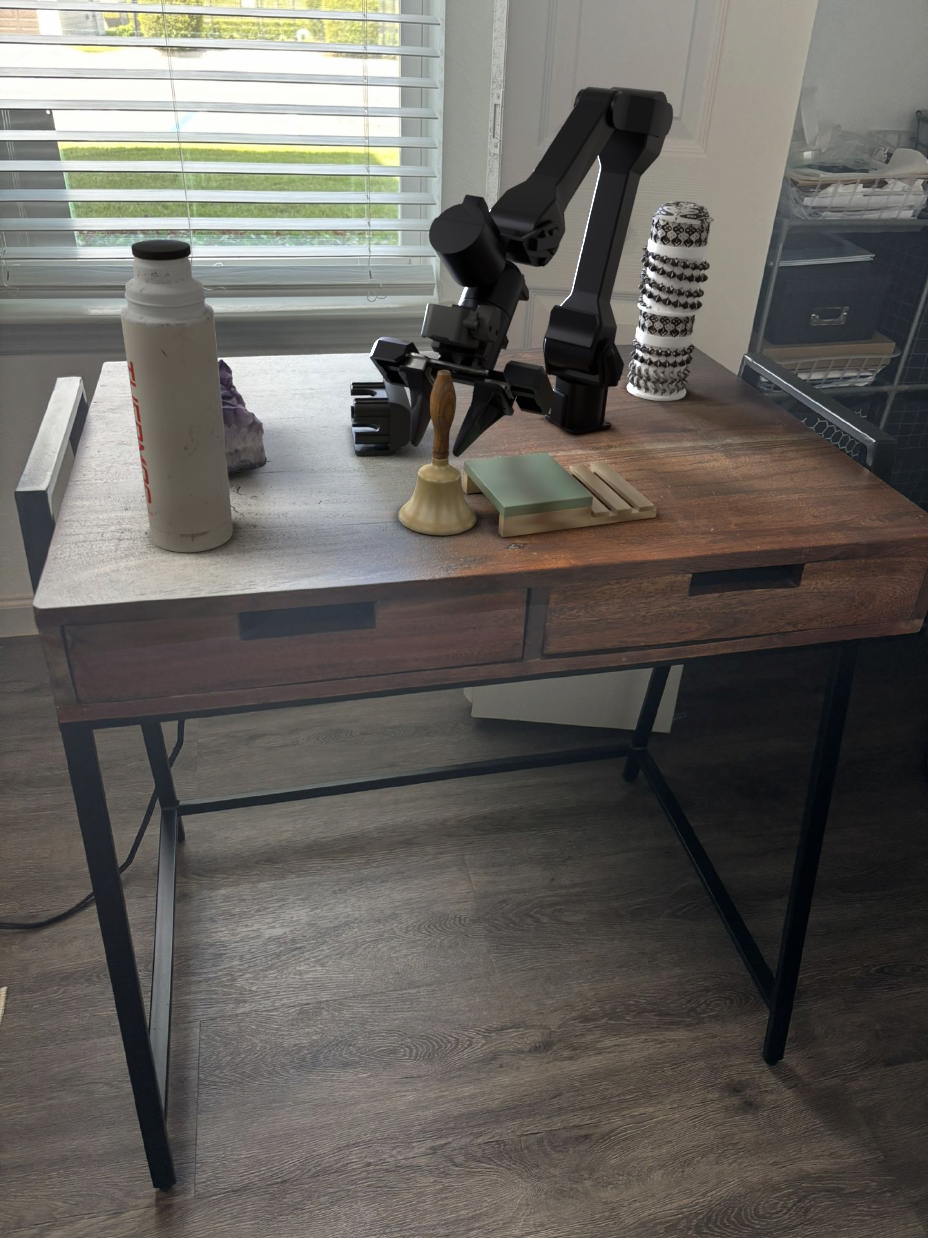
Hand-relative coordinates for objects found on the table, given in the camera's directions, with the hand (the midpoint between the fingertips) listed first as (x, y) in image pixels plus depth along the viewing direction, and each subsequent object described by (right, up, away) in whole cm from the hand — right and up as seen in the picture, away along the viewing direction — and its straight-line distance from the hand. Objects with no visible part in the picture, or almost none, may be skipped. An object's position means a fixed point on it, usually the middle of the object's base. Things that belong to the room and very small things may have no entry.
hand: (434, 450), depth 100 cm
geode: (-27, +2, +17) cm, 32 cm away
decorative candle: (+30, +16, +43) cm, 55 cm away
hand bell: (0, -6, +6) cm, 8 cm away
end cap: (-7, +5, +23) cm, 24 cm away
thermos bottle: (-24, -9, 0) cm, 26 cm away
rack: (+14, -4, +10) cm, 18 cm away
